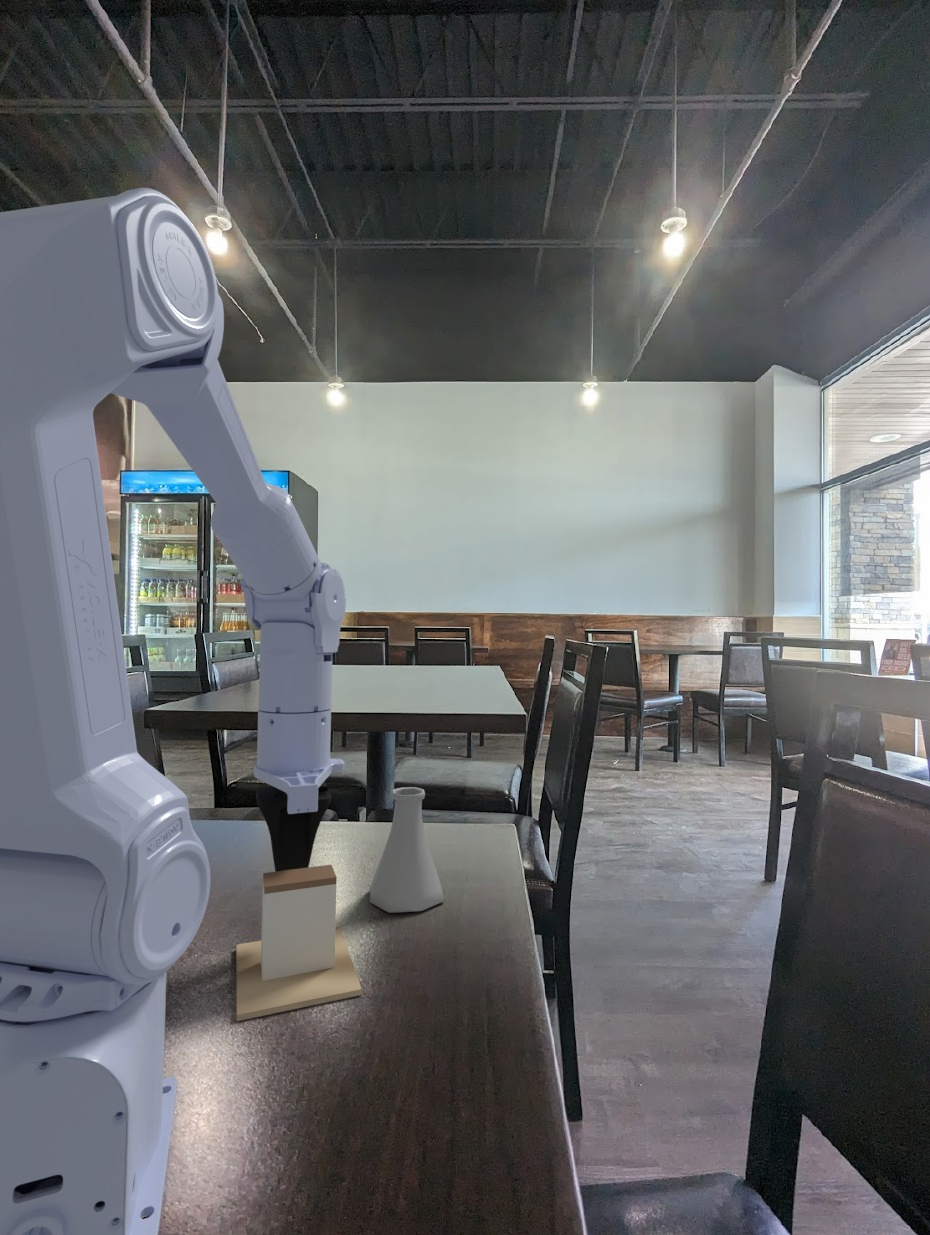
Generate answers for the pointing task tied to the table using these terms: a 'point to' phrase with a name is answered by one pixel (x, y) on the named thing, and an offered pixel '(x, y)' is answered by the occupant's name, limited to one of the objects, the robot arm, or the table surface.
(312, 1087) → the table surface
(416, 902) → the flask
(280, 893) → the cream slab
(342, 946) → the cork mat
